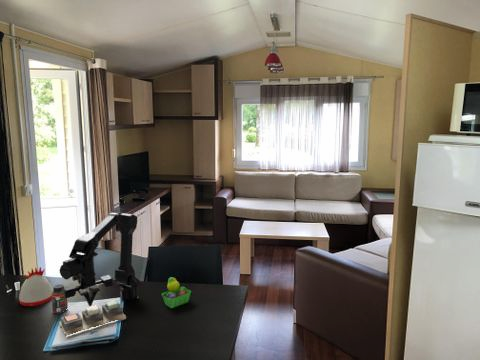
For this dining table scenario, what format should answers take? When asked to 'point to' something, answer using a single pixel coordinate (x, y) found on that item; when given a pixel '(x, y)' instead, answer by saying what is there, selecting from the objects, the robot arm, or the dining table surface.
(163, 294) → the fruit basket
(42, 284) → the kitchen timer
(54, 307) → the supplement bottle
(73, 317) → the button terracotta
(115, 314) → the button panel
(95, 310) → the button cream
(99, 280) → the robot arm
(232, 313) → the dining table surface
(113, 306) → the button sage
